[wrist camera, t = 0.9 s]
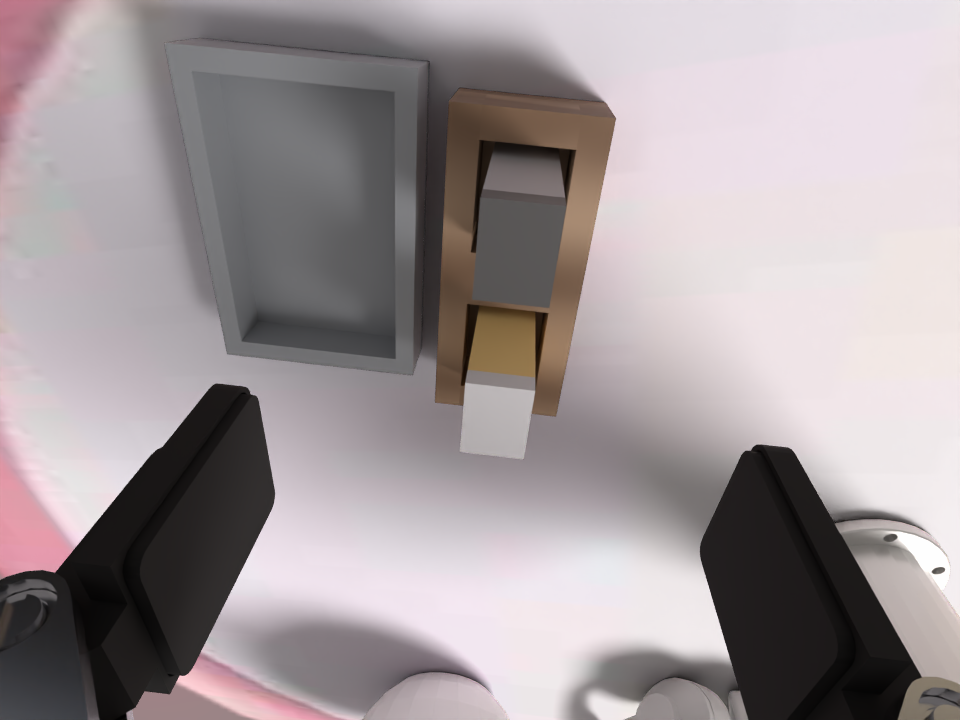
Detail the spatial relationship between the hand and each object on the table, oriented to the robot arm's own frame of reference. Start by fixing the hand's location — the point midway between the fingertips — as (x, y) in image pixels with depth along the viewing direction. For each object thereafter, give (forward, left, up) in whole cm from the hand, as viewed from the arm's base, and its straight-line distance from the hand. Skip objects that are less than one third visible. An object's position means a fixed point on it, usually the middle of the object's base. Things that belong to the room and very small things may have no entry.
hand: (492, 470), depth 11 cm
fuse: (-8, 0, -20) cm, 22 cm away
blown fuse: (0, 0, -20) cm, 20 cm away
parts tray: (-3, +10, -21) cm, 24 cm away
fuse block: (-4, 0, -21) cm, 22 cm away
